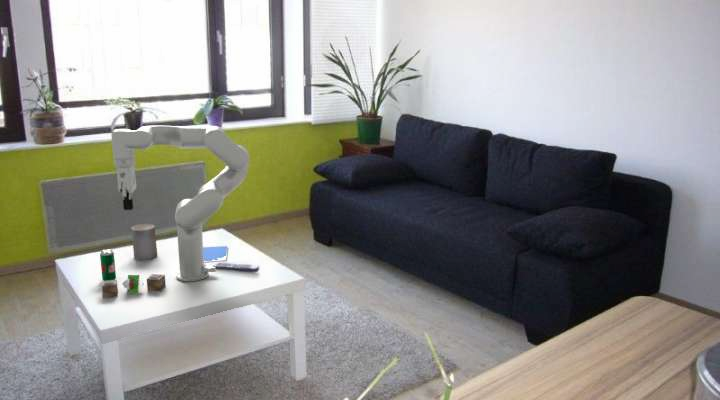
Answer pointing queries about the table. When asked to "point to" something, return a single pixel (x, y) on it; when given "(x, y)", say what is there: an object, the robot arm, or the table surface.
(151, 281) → the marked block 2
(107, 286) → the marked block 1
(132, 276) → the geometric puzzle
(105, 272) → the soda can
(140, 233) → the pillar candle
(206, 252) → the tablet computer
